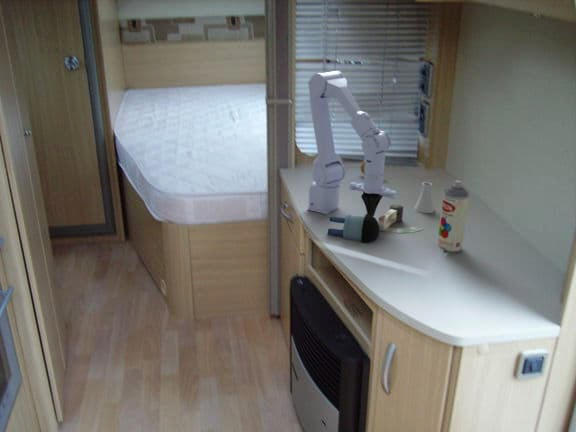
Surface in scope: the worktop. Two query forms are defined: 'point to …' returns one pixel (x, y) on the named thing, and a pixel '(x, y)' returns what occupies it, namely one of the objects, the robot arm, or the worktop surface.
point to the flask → (425, 200)
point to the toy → (357, 228)
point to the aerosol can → (453, 218)
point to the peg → (391, 217)
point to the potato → (363, 166)
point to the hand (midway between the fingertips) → (370, 216)
